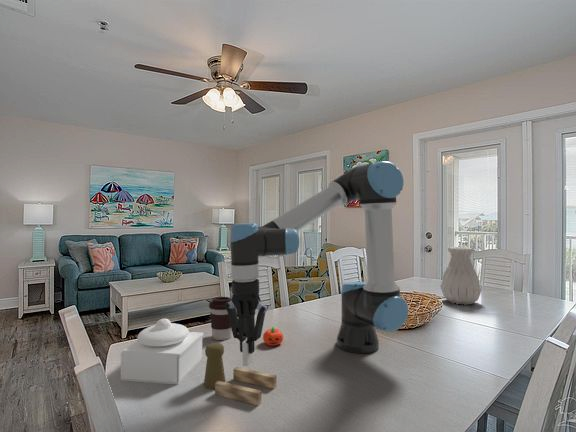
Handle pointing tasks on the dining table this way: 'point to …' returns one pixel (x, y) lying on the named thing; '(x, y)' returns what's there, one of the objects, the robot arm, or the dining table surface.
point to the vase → (460, 278)
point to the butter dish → (162, 354)
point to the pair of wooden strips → (244, 392)
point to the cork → (214, 365)
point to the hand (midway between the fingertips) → (247, 363)
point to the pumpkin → (273, 337)
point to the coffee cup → (220, 318)
